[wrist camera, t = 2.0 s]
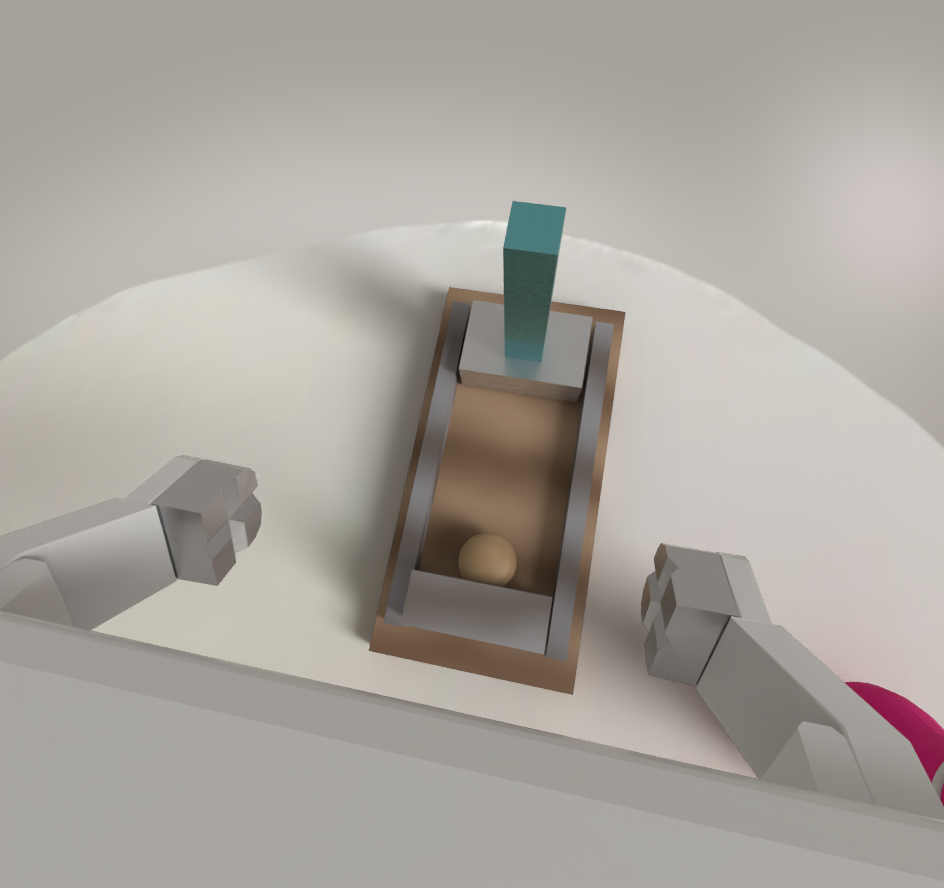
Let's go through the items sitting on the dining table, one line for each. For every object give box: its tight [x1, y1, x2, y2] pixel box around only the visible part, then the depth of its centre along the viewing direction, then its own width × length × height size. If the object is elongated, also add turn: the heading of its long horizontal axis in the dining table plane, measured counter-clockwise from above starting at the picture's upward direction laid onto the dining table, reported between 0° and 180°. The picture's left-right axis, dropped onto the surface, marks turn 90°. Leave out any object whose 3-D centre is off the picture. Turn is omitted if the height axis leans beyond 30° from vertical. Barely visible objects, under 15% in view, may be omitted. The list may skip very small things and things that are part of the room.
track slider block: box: [459, 201, 593, 403], centre depth 31 cm, size 5×8×15 cm, turn 79°
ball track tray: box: [369, 287, 625, 695], centre depth 36 cm, size 26×13×7 cm, turn 169°
